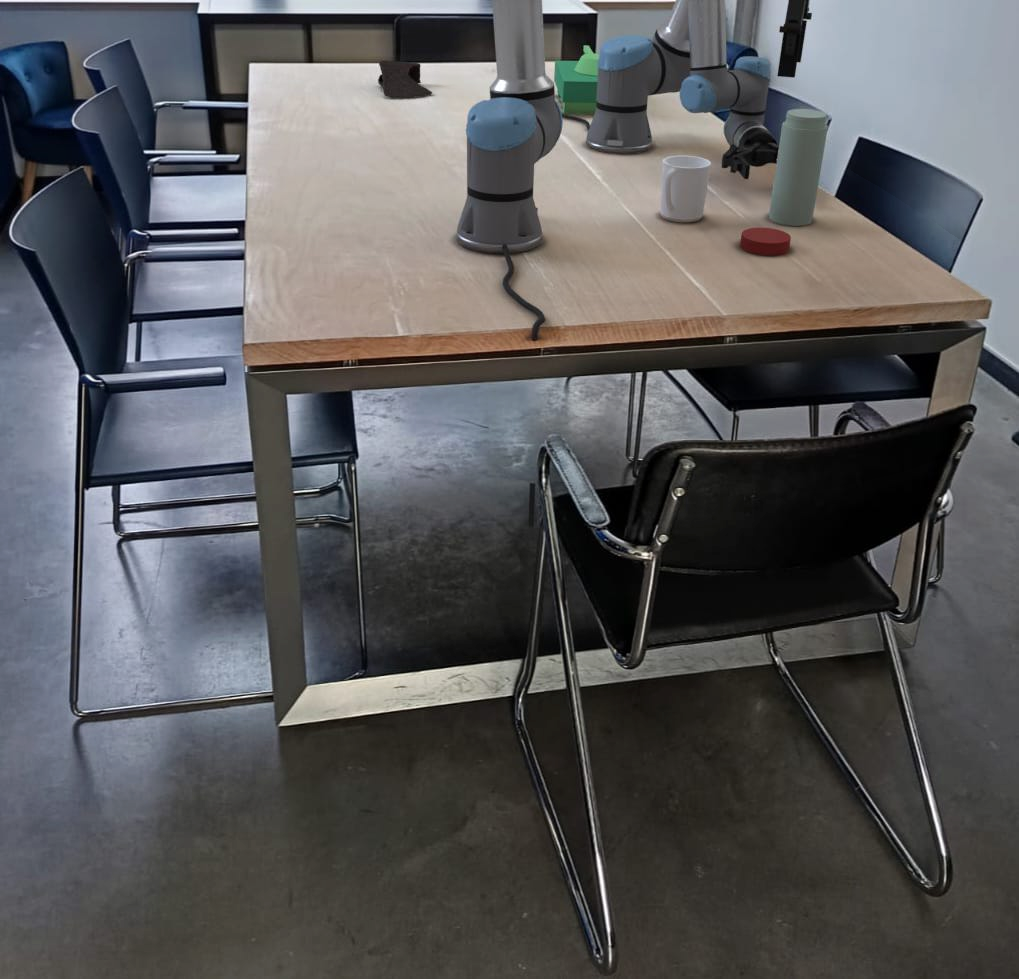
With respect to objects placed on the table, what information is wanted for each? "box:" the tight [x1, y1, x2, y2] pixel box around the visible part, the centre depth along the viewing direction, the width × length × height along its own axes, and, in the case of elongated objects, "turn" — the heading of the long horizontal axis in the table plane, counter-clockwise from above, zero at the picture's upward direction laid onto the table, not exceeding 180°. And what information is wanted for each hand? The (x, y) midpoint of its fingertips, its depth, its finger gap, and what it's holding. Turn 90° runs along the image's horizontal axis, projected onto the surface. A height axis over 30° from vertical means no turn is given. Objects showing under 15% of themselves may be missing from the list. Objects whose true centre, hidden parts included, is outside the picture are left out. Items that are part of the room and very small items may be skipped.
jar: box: [768, 108, 829, 227], centre depth 205 cm, size 8×8×20 cm
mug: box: [659, 155, 712, 223], centre depth 206 cm, size 11×9×10 cm
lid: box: [739, 227, 792, 257], centre depth 195 cm, size 9×9×2 cm
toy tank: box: [553, 44, 600, 115], centre depth 290 cm, size 18×12×35 cm
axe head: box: [377, 59, 433, 99], centre depth 299 cm, size 18×8×15 cm
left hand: (789, 69), depth 180 cm, fingers open, 13 cm apart
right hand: (781, 172), depth 214 cm, fingers open, 13 cm apart
